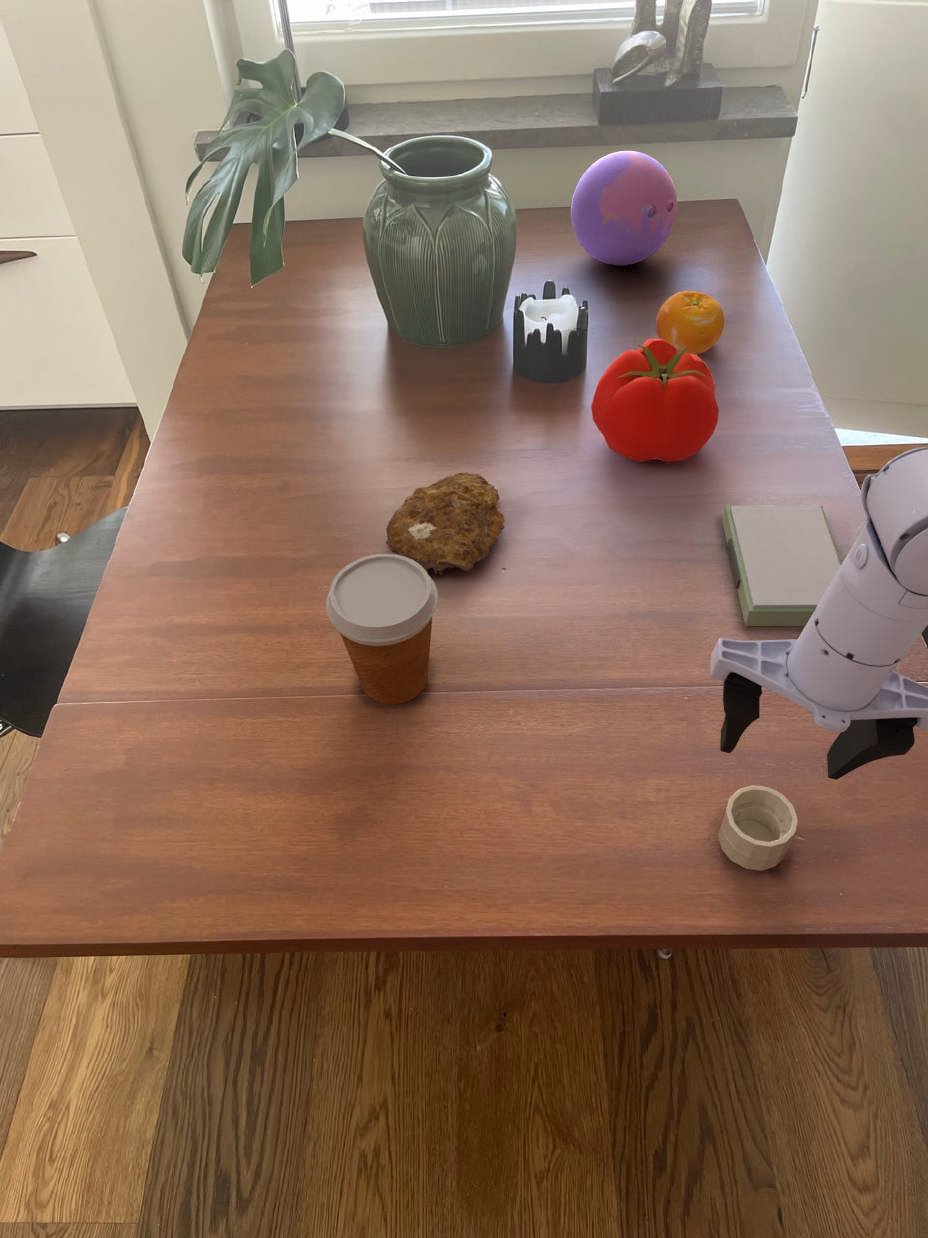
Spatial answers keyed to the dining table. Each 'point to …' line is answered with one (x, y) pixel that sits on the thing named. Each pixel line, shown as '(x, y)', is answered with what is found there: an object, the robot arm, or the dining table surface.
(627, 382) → the tomato
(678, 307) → the fruit
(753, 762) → the dining table surface
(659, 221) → the decorative ball
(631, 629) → the dining table surface
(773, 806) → the small beige cup
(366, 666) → the disposable coffee cup
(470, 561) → the decorative rock
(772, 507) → the scale
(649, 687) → the dining table surface
